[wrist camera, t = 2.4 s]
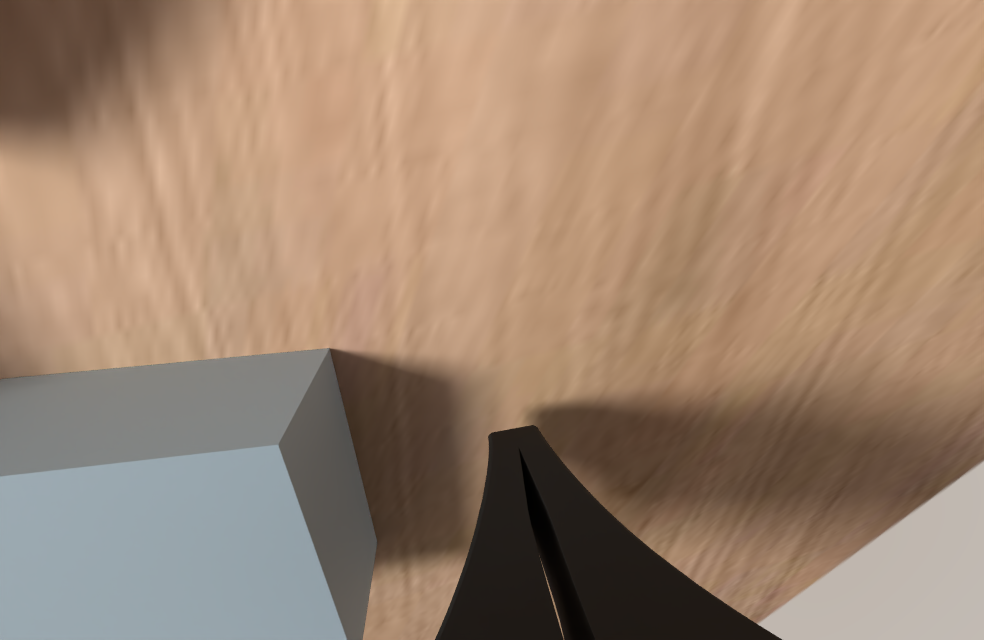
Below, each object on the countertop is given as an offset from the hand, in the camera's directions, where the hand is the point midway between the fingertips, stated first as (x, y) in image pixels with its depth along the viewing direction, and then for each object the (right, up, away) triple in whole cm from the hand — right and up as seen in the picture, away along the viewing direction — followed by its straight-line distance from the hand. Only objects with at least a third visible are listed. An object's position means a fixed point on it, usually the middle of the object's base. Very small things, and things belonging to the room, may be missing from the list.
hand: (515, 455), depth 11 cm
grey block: (-9, -1, +1) cm, 9 cm away
